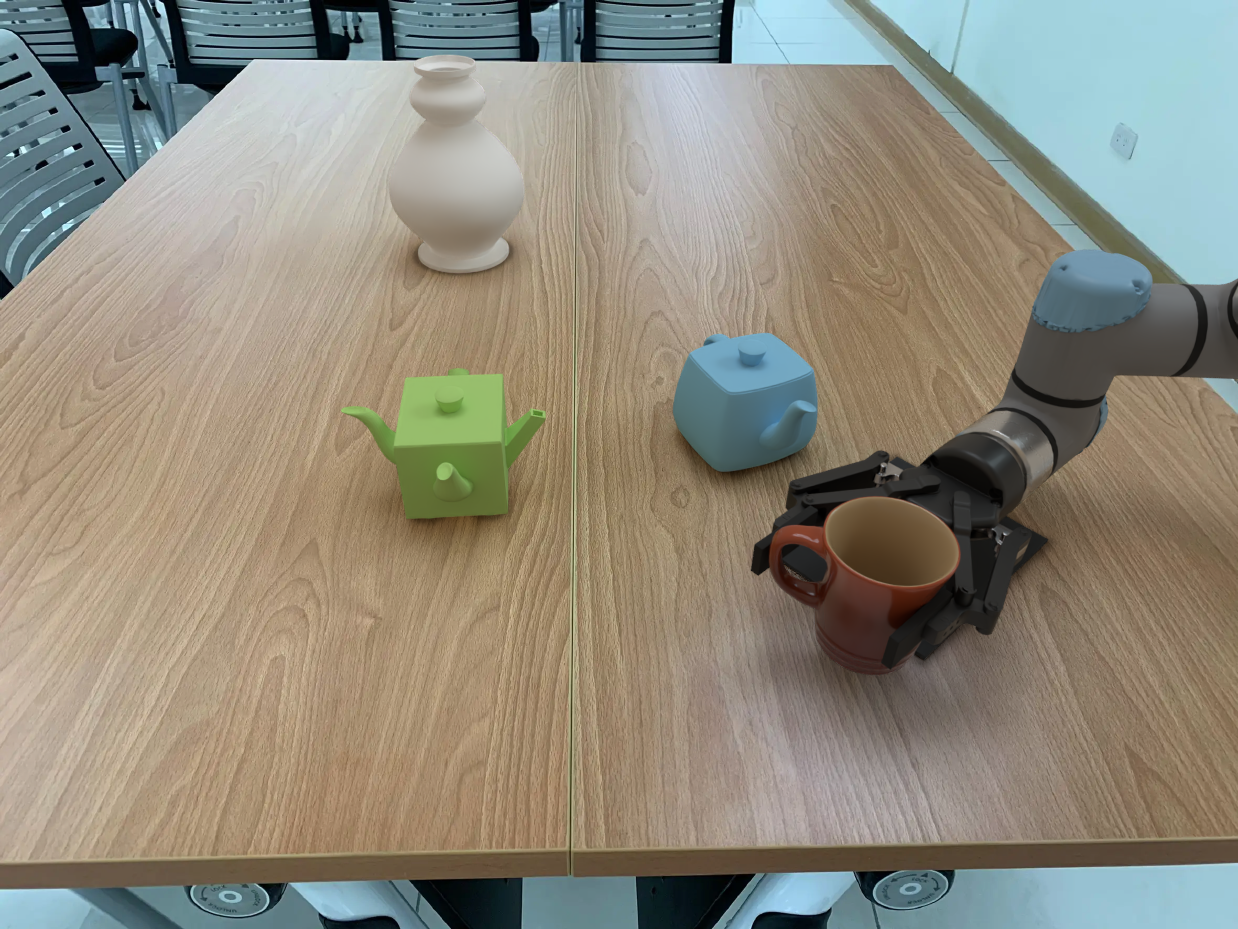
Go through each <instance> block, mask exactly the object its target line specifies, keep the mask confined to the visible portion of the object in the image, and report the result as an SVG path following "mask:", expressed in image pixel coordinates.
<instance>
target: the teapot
mask: <svg viewBox="0 0 1238 929" xmlns="http://www.w3.org/2000/svg"><path fill="white" fill-rule="evenodd" d="M816 381H817V380H816V375H815V371H814V368H813V367H812V365H810V364H809V363H808V362H807V361H806V360H805V359H804V358H803V357H801V356H800V355H799V354H798V353H797V352H796V351H795V350H794V349H793V348H791V347H790V345H788V344H786V343H785V342H784V341H783V340H781V339H780V338H779V337H777V336H776V335H774V334H773V333H770V332H759V333H751V334H745V335H741V336H735V337H731V338H730V337H729V336H727V335H726V334H724V333H714V334H711V335H709V336H708V337H707V338H705V340H704V341H703V345H702V346H700V347H698V348H695V349H694V350H692V351H690V352H689V353H688V355H687V357H686V360H685V362H684V364H683V367H682V370H681V373H680V375H679V378H678V380H677V385H676V388H675V393H674V396H673V404H672V415H673V419H674V422H675V424H676V427H677V430H678V431H679V432H680V433H681V435H682V436H683V438H684V439H685V440H686V441H687V442H688V444H689V445H690V447H691V448H692V449H693V450H694V451H695V452H696V453H697V454H698V455H699V456H700V457H701V458H702V459H703V461H705V462H706V463H707V465H709V466H710V467H711V468H712V469H714V471H717V472H724V473H726V472H735V471H742V470H746V469H750V468H755V467H760V466H764V465H768V464H771V463H773V462H776V461H777V462H778V461H779V460H781V459H785V458H787V457H789V456H791V455H794V454H795V453H797V452H800V451H801V450H803V449H804V448H806V447H807V445H808V444H810V442H811V440H812V439H813V437H814V435H815V433H816V430H817V424H818V409H819V408H818V407H819V406H818V405H819V402H818V390H817V382H816Z"/></svg>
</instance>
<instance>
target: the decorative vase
mask: <svg viewBox="0 0 1238 929" xmlns="http://www.w3.org/2000/svg"><path fill="white" fill-rule="evenodd" d="M476 70H477V62H476V60H475V59H474V58H471V57H470V56H465V55H459V54H435V55H429V56H424V57H421V58H418V59H416V60H415V61H413V72H414V73H415V74H417V75H419V76H421V78H420V79H419V80H418V81H416V82H415V83H414V85H413V86H412V88H411V89H410V93H409V103H410V106H411V108H412V109H413V110H414V111H415V112H416V113H417V114H418V115H419V116H420V117H422V118H423V119H424V121H423V122H422V123H421V124H420V125H419V126H418V128H417V129H416V130H415V131H414V132H413V133H412V135H411V136H410V137H409V139H408V140H407V141H406V143H404V145H403V146H402V148H401V150H400V152H399V153H398V155H397V157H396V159H395V161H394V163H393V165H392V168H391V170H390V175H389V180H388V194H389V201H390V204H391V206H392V209H393V211H394V212H395V214H396V216H397V217H398V218H399V219H400V221H401V222H402V223H403V224H404V225H405V226H406V227H407V228H408V229H409V230H410V231H411V232H412V233H413V234H415V235H416V236H417V237H418V238H419V239H420V240H421V241H422V243H421V244H420V245H419V247H418V249H417V256H418V260H419V261H420V263H421V264H422V265H424V266H425V267H427V268H429V269H431V270H434V271H437V272H442V273H448V274H469V273H470V274H471V273H477V272H482V271H486V270H490V269H492V268H494V267H497V266H498V265H500V264H502V263H503V262H504V261H505V260H506V259H507V258H508V257H509V253H510V246H509V244H508V242H507V240H506V239H505V238H503V237H502V236H503V235H504V234H505V233H506V231H507V230H508V229H509V227H510V226H511V224H512V223H513V222H514V221H515V220H516V218H517V217H518V215H519V213H520V211H521V209H522V207H523V204H524V201H525V193H526V192H525V191H526V190H525V181H524V177H523V174H522V171H521V168H520V166H519V164H518V162H517V161H516V159H515V157H514V155H513V154H512V153H511V152H510V150H509V149H508V148H507V147H506V145H505V144H504V143H503V142H502V140H500V139H499V137H497V135H495V134H494V133H493V132H492V131H491V130H490V129H489V128H488V127H486V125H484V124H483V123H482V122H481V121H479V120H478V119H477V118H476V117H477V116H478V115H479V114H480V112H481V111H482V110H483V109H484V107H485V106H486V104H487V103H486V102H487V93H486V90H485V88H484V87H483V86H482V84H481V83H480V82H478V80H476V79H475V78H474V77H472V76H471V74H473V73H474V72H475V71H476Z"/></svg>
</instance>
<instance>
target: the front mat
mask: <svg viewBox="0 0 1238 929" xmlns="http://www.w3.org/2000/svg"><path fill="white" fill-rule="evenodd" d="M888 462H889V463H891V464H893V465H895V466H896V467H898V468H900V469H902V470H905V469H908V468H914V467H916V466H915V465H913V464H912V463H910V462H908V461H907V460H904V459H903V458H901V457H899V456H896V457H894V458H893V459H891V460H889V461H888ZM883 485H884V484H883ZM883 485H882V486H883ZM873 488H875V487H873ZM999 524H1001V525H1003V526H1005V527H1006V528H1008V529H1010V530H1012V531H1014V530H1015V529H1016V528H1018V527H1023V528H1026V529H1028V530H1030V531H1031V533H1032V536H1031V538H1030V541H1029V543H1028V546H1027V548H1026V551H1025V553H1024V555H1023V558H1022V560H1021V561H1019V562H1018V563H1017V564H1016V565H1015V566H1014V569H1013V572H1012V576H1014V575H1015V574H1016V573H1017V572H1018V571H1019V570H1020V569H1021V568H1022V567H1023V566H1024V565H1025V564H1027V562H1028V561H1030V560H1031V559H1032V557H1034V556H1035V555H1036V554H1037V553H1038V552H1039V551H1040V550H1041V549H1042V548H1043V547H1044V546H1045V545H1046V544H1047V543H1048V542H1049V538H1047V537H1045V536H1043V535H1042V534H1040V533H1038V532H1036V531H1035V530H1033V529H1031V528H1029V527H1027V526H1025V525H1024V524H1021V523H1020V522H1018V521H1016V520H1014V519H1012V518H1011V517H1008V515H1007V516H1006V517H1005V518H1004V519H1002V520H1001V521H1000V522H999ZM817 527H823V526H817ZM970 545H971V560H972V574H973V589H974V591H975V589H977V591H976V594H975V597H974V598H976V599H979V600H982V601H983V598H984V594H985V591H986V588H987V584H988V581H989V577H990V574H991V571H992V568H993V565H994V563H995V560H996V557H995V556H994V552H995V551H994V550H993V549H992V545H993V541H992V540H991V539H990V538H989V539H986V540H976V541H970ZM782 559H783V563H784V566H785V567H788V568H789V569H790V570H792V571H793V572H794V573H796V574H798V575H799V576H801V577H802V578H803V579H805V580H806V581H809V582H818V581H821V580H822V579H823V577H824V574H825V571H826V566H827V562H826V560H825V559H823V558H822V557H821V556H819V555H818V554H817V553H815V552H814V551H813V550H811V549H810V548H808V547H806V546H803V545H800V546H799V547H797V548H796V549H795V550H793V551H792V552H790V553H789V554H788V555H786V556H785V557H784V558H782ZM943 588H944V589H946V583H945V584H944V585H943V586H942V587H941V588H940V589H939V591H941V590H942V589H943ZM939 591H938V592H939ZM938 592H937V593H938ZM937 593H936V594H937ZM959 627H961V625H959V626H958V627H956V628H955V629H954V630H953V631H952V632H951V633H950V634H949V635H948V636H947V637H946V638H945V639H944V640H943V641H942V642H941V643H939V644H936V645H932V644H930V643H929V642H927V641H926V640H924V639H923V640H922V641H921V643H920V645H919V646H918V648H917V649H916V651H915V653H914V654H913V655H916V656H917V657H919V658H921V660H923V661H924V660H926V659H927V658H928V657H929V656H930V655H931V654H932V653H933V652H935V650H937V649H938V647H940V646H941V644H943V643H944V642H945V641H946V640H947V639H948V638H949V637H950V636H951V635H952V634H953V633H954V632H956V631H957V630H958V628H959Z"/></svg>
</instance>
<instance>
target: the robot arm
mask: <svg viewBox="0 0 1238 929" xmlns="http://www.w3.org/2000/svg"><path fill="white" fill-rule="evenodd" d="M1153 281H1154V280H1153V276H1152V273H1151V271H1150V270H1149V269H1148V268H1147V267H1146V265H1144V264H1142V262H1140V261H1139V260H1136V259H1134V258H1132V257H1130V256H1127V255H1124V254H1121V253H1118V252H1115V253H1110V252H1106V251H1104V250H1102V249H1091V248H1087V249H1085V248H1084V249H1076V250H1073V251H1069V252H1066V253H1064V254H1062V255H1060V256H1059V257H1057V258H1056V259H1055V260H1054V261H1053V262H1052V264H1051V265H1050V267H1049V269H1048V271H1047V273H1046V276H1045V277H1044V279H1043V281H1042V283H1041V286H1040V288H1039V289H1038V293H1037V295H1036V297H1035V299H1034V301H1033V305H1032V309H1031V311H1030V316H1029V320H1028V322H1027V326H1026V329H1025V332H1024V335H1023V340H1022V341H1021V342H1022V343H1021V346H1020V349H1019V352H1018V355H1017V358H1016V362H1015V363H1014V365H1013V368H1012V369H1011V373H1010V376H1009V379H1008V381H1007V385H1006V387H1005V390H1004V392H1003V396H1002V398H1001V400H1000V402H999V403H997V405H995V406H994V407H993V408H992V409H990V410H989V411H988V412H987V413H985V414H984V415H983V416H981V417H980V418H978V419H976V420H975V421H974V422H973V423H971V424H970V425H968V426H967V427H965V428H964V429H963V430H961V431H960V432H958V433H957V434H956V435H955V436H954V437H953V438H951V439H949V440H948V441H947V442H945V443H944V444H943V445H940V447H938V448H937V449H936V450H934V451H933V452H931V453H930V454H929V455H928V456H927V457H926V458H925V459H924V460H923V461H922V462H921V463H920V464H919V465H918V466H915V467H914V468H908V469H905V470H902V469H900V468H898V467H896V466H895V465H893V464H891V463H889V462H890V456H891V455H890V453H889V452H888V451H886V450H882V449H881V450H876V451H875V452H873V453H872V454H870V455H869V456H868V457H867V458H865V459H863V460H860V461H856V462H852V463H848V464H844V465H842V466H838V467H834V468H831V469H827V470H824V471H820V472H817V473H813V474H810V475H806V476H803V477H799V478H796V479H792V480H790V481H789V483H788V488H787V494H786V501H785V505H784V506H785V507H784V508H785V509H786V511H785V512H783V513H782V514H781V515H778V517H776V518H775V519H774V521H773V523H772V528H771V532H770V533H769V534H767V535H766V536H764V537H763V538H761V539H760V540H758V541H757V542H756V543H754V544H753V551H752V558H751V565H750V572H752V574H754V575H756V576H757V577H759V576H761V575H762V574H763V573H765V572H766V571H767V570H770V568H769V549H770V544H771V541H772V538H773V536H774V534H775V533H776V532H777V531H778V530H779V529H781V528H782V527H785V526H788V525H804V526H824V522H825V520H826V518H827V516H828V514H829V513H830V512H831V511H832V510H833V509H834V508H836V507H837V506H839V505H841V504H843V503H845V502H847V501H850V500H852V499H856V498H861V497H870V496H881V497H890V498H896V499H901V500H904V501H908V502H911V503H913V504H916V505H918V506H920V507H922V508H924V509H926V510H928V511H930V512H931V513H933V514H935V515H936V516H937V517H939V518H940V519H941V520H942V521H943V522H944V523H945V524H946V525H947V526H948V527H949V528H950V529H951V530H952V532H953V533H954V535H955V537H956V538H957V541H958V543H959V546H960V552H961V555H960V563H959V566H958V568H957V570H956V571H955V573H954V574H953V575H952V577H951V578H950V579H949V580H948V581H947V582H946V589H944V588H943V589H942V590H941V591H939V592H938V593H937V594H936V595H935V596H934V597H933V598H932V599H931V600H930V601H929V602H928V603H926V604H925V605H924V606H923V607H922V608H920V609H919V610H918V611H917V612H916V613H915V614H914V615H913V616H911V617H910V618H909V619H908V620H907V621H906V622H905V623H904V624H903V625H901V626H900V627H899V628H898V629H897V630H896V631H895V632H894V633H892V634H891V635H890V636H889V639H888V642H887V645H886V648H885V652H884V655H883V658H882V661H881V663H882V664H883V665H885V666H886V667H887V668H889V669H890V670H891V669H892V668H893V667H894V666H895V665H896V664H897V663H898V662H899V661H900V660H901V659H903V658H904V657H905V656H906V655H907V654H908V653H909V652H910V651H911V650H912V649H913V648H914V647H915V646H916V645H918V644H919V643H920V642H921V641H922V640H923V639H924V640H926V641H927V642H929V643H930V644H932V645H936V644H939V643H941V642H942V641H943V640H944V639H945V638H946V637H947V636H948V635H949V634H950V633H951V632H952V631H953V630H954V629H955V628H956V627H958V626H959V625H960V626H961V625H970V626H973V627H974V629H975V631H976V632H977V633H979V634H981V635H983V636H990V635H992V634H993V633H994V630H995V628H996V625H997V623H998V621H999V618H1000V616H1001V613H1002V611H1003V609H1004V606H1005V601H1006V597H1007V594H1008V592H1009V588H1010V583H1011V580H1012V577H1013V575H1012V572H1013V569H1014V566H1015V565H1016V564H1017V563H1018V562H1019V561H1021V560H1022V558H1023V555H1024V553H1025V551H1026V548H1027V546H1028V543H1029V541H1030V538H1031V536H1032V533H1031V531H1030V530H1028V529H1026V528H1023V527H1018V528H1016V529H1015V530H1014V531H1012V530H1010V529H1008V528H1006V527H1005V526H1003V525H1001V524H999V522H1000V521H1001V520H1002V519H1004V518H1005V517H1006V516H1007V517H1008V515H1009V514H1010V513H1012V512H1013V511H1014V510H1015V509H1016V508H1017V507H1018V506H1019V505H1020V504H1022V503H1023V502H1024V501H1025V500H1026V499H1027V498H1028V497H1030V496H1031V495H1032V494H1033V493H1034V492H1035V491H1037V490H1038V489H1039V488H1040V487H1042V485H1044V484H1045V483H1046V482H1047V481H1048V480H1049V479H1050V478H1051V477H1052V476H1053V475H1054V474H1056V473H1057V472H1058V471H1059V470H1061V468H1063V467H1064V466H1065V465H1067V463H1068V462H1070V461H1071V460H1072V459H1073V458H1075V457H1076V456H1078V455H1080V454H1081V453H1083V452H1084V450H1085V449H1087V448H1089V447H1090V446H1091V445H1092V443H1093V441H1094V440H1096V437H1097V436H1098V435H1099V434H1100V432H1101V431H1102V430H1103V428H1104V427H1105V425H1106V423H1107V420H1108V417H1109V405H1108V401H1107V393H1108V391H1109V388H1110V386H1111V385H1112V383H1113V380H1114V379H1115V377H1118V376H1119V377H1120V376H1125V377H1127V376H1128V377H1160V378H1161V377H1163V378H1165V377H1166V378H1193V379H1195V378H1196V379H1197V378H1198V379H1218V380H1219V379H1223V380H1238V278H1236V279H1234V280H1232V281H1230V282H1227V283H1221V284H1208V283H1207V284H1205V283H1203V284H1201V283H1199V284H1198V283H1165V282H1163V283H1161V282H1159V283H1158V282H1153ZM883 484H884V485H883ZM882 485H883V486H882ZM873 487H875V488H873ZM989 538H990V539H991V540H992V541H993V545H992V549H993V550H994V551H995V552H994V556H995V557H996V560H995V563H994V565H993V568H992V571H991V574H990V577H989V581H988V584H987V588H986V591H985V594H984V598H983V601H982V600H979V599H976V598H974V597H975V594H976V591H977V589H975V591H974V589H973V574H972V560H971V545H970V541H976V540H986V539H989ZM799 546H800V545H799V544H788V545H785V546H784V547H783V548H782V558H784V557H785V556H786V555H788V554H789V553H790V552H792V551H793V550H795V549H796V548H797V547H799ZM960 626H959V627H960ZM959 627H958V628H959ZM942 643H943V642H942ZM942 643H941V644H942Z"/></svg>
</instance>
